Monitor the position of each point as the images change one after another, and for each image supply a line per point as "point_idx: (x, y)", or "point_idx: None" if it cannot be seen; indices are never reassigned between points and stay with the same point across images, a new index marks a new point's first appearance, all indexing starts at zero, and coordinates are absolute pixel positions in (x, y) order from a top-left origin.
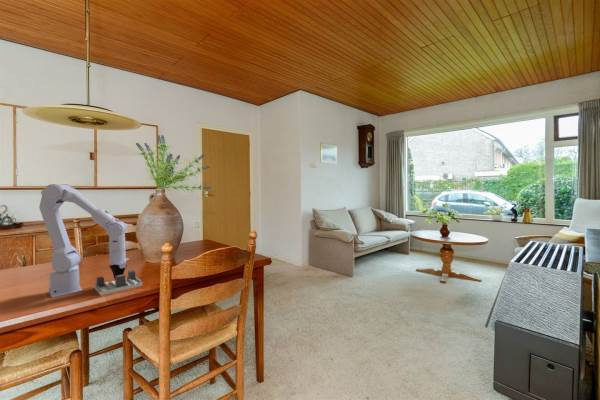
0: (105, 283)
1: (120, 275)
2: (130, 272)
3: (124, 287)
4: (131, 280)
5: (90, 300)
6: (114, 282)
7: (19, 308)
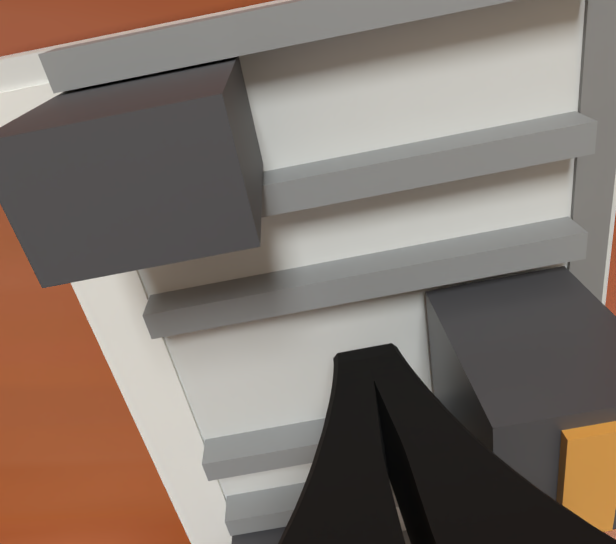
0: None
1: (600, 484)
2: (246, 237)
3: (606, 275)
4: (418, 165)
5: (610, 532)
6: (221, 398)
7: None
